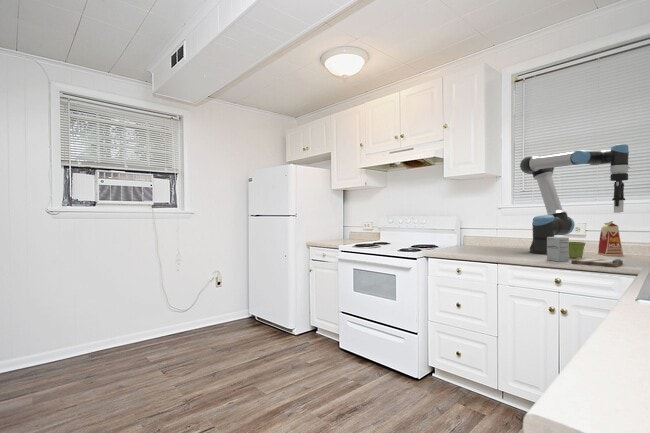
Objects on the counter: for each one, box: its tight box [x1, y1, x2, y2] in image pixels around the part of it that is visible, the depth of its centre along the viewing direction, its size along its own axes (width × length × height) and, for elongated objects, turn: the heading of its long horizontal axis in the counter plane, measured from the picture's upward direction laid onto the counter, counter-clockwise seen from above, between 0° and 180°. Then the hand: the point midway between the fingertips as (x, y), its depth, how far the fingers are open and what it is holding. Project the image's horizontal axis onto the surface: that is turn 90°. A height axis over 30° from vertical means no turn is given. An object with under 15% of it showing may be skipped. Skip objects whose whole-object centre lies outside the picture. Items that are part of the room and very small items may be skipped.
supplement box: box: [546, 236, 570, 263], centre depth 193 cm, size 7×7×13 cm
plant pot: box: [569, 241, 587, 259], centre depth 202 cm, size 9×9×9 cm
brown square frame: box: [570, 257, 624, 268], centre depth 180 cm, size 18×15×2 cm
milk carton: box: [597, 220, 624, 257], centre depth 211 cm, size 9×9×20 cm
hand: (618, 212), depth 196 cm, fingers open, 13 cm apart
